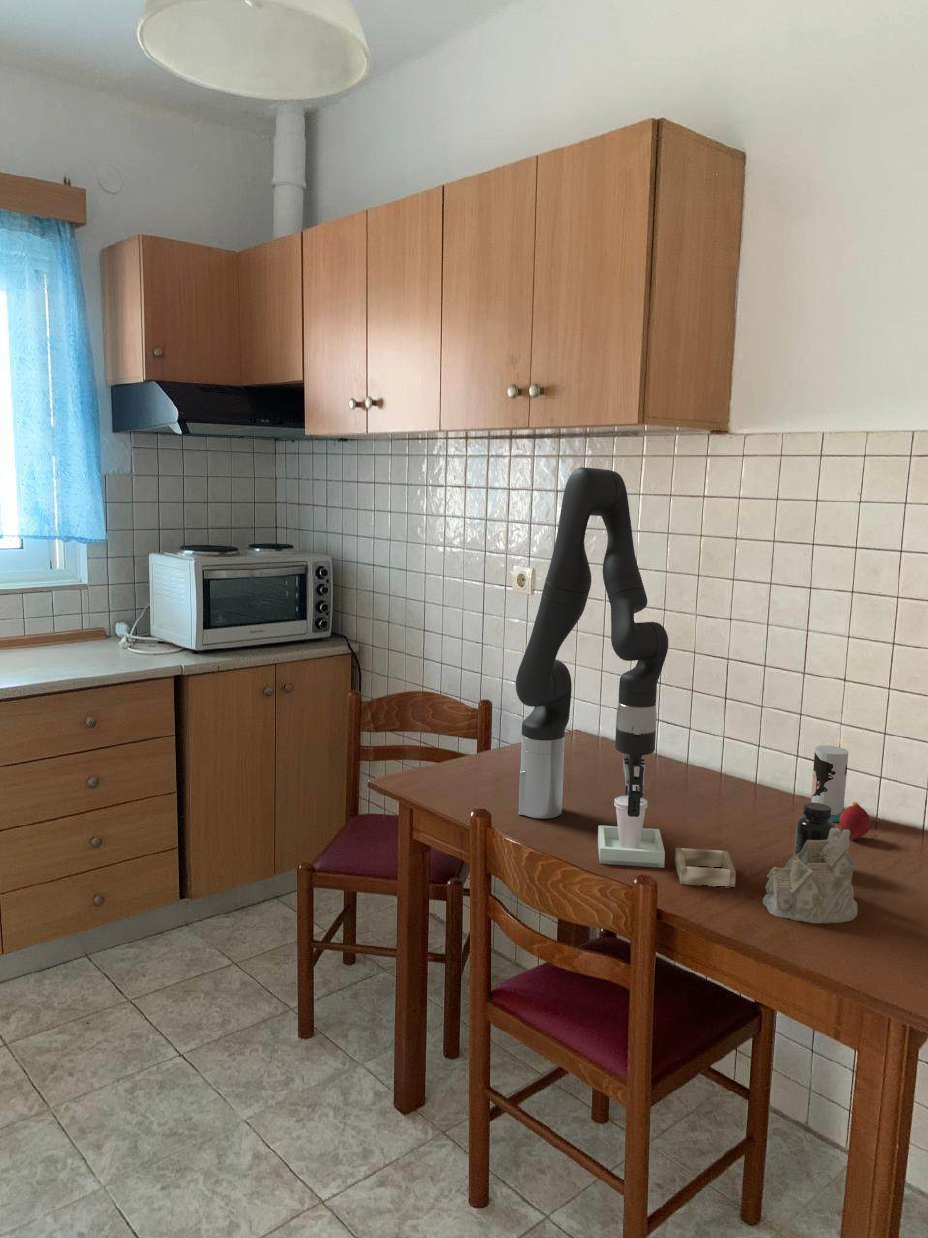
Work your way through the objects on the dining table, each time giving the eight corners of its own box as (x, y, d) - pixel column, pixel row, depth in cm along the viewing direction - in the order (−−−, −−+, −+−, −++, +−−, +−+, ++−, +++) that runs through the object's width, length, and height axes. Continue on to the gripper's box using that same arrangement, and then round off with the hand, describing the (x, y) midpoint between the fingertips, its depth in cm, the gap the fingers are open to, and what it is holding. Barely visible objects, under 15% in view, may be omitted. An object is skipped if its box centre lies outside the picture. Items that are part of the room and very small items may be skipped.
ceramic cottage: (844, 885, 167) (846, 806, 164) (867, 931, 151) (869, 844, 148) (754, 882, 170) (754, 804, 167) (767, 927, 154) (768, 842, 151)
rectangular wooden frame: (680, 884, 166) (681, 868, 166) (674, 862, 176) (675, 847, 175) (734, 887, 165) (735, 871, 165) (726, 866, 174) (727, 851, 174)
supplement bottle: (827, 878, 170) (833, 815, 168) (789, 869, 174) (794, 808, 172) (835, 865, 176) (840, 804, 174) (797, 857, 180) (802, 797, 178)
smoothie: (645, 856, 176) (647, 784, 174) (611, 853, 177) (613, 782, 176) (646, 844, 182) (649, 775, 180) (613, 841, 184) (616, 772, 182)
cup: (835, 811, 206) (841, 745, 203) (847, 822, 199) (853, 754, 197) (805, 810, 206) (810, 745, 203) (816, 821, 199) (821, 754, 197)
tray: (599, 863, 174) (600, 848, 174) (597, 839, 186) (598, 825, 186) (664, 868, 173) (665, 852, 173) (658, 843, 185) (659, 829, 184)
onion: (867, 836, 191) (871, 799, 190) (870, 846, 186) (873, 808, 184) (837, 832, 193) (840, 795, 192) (838, 842, 187) (842, 804, 186)
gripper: (614, 716, 183) (610, 795, 186) (617, 735, 169) (613, 820, 172) (652, 718, 183) (648, 797, 185) (659, 737, 169) (654, 822, 171)
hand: (631, 808), depth 178 cm, fingers open, 8 cm apart
